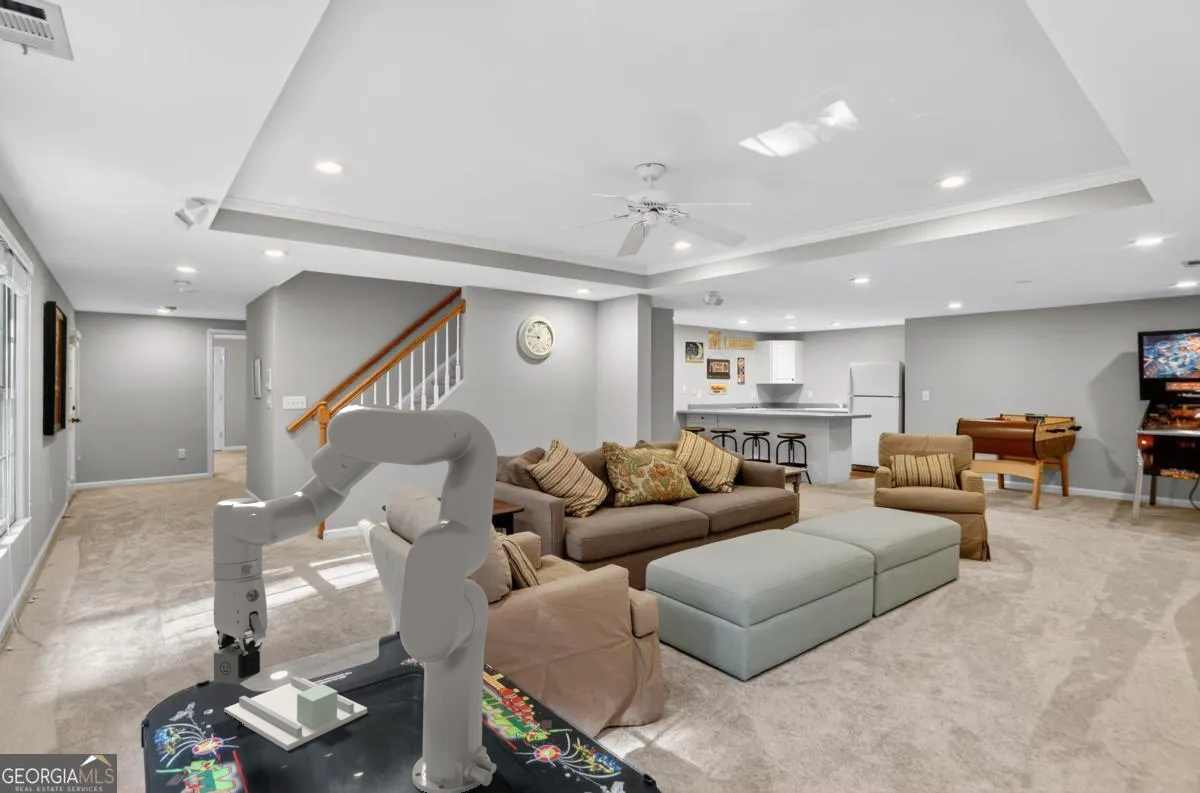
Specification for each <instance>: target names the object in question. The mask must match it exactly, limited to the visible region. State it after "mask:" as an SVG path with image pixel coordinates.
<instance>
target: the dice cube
mask: <svg viewBox="0 0 1200 793" xmlns="http://www.w3.org/2000/svg"><path fill="white" fill-rule="evenodd" d="M235 642H236V641H235ZM248 643H249V642H246V644H247V645H248ZM239 655H242V652H241V647H240V643H239V642H236V643H234V644H232V645H229V646H227V647H225V648H223V649H221V650H219V649H218V650H217V651H215V652H214V653H213V682H214V683H221V684H231V685H240V684H242V683H243V682H245V681H247V680H248V679H250V678H252V677H254V676H256V675H258V674H259V673H261V670H260V671H259V673H257V674H254V675H251V676H249V677H246V678H243V679H242V678H240V677H239Z"/></svg>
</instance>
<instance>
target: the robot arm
mask: <svg viewBox="0 0 1200 793" xmlns="http://www.w3.org/2000/svg"><path fill="white" fill-rule="evenodd" d="M327 433H328V434H327V436H328V441H327V442H326V443H325V444H324V445H323V446H321V447H320V448H319V449H318V450H317V451H315V453H314V454H313V455H312V458H311V467H312V471H313V473H314V475H315V476H314V477H313V478H312V479H311V480H309V482H307V484H305V485H304V486H303V487H302V488H300V489H299V490H298V491H296V492H295V493H293V494H290V495H285V496H281V497H275V498H272V499H269V500H263V501H259V500H258V499H256V498H254V497H253V498H251V497H243V498H242V497H240V498H239V497H237V498H231V499H230V498H229V499H226V500H225V499H224V500H221V501H219V502H217V503H216V504H215V505H214V507H213V510H212V530H213V531H212V538H213V540H212V546H213V547H212V549H213V550H212V551H213V555H212V556H213V558H212V559H213V562H212V565H213V568H212V569H213V572H212V573H213V574H212V575H213V580H212V581H213V582H214V583H215V585H214V597H213V624H214V628H215V629H216V631H215V632H216V634H217V636H218V637H217V645H218V651H219V650H221V649H223V648H225V647H227V646H229V645H232V644H234V643H236V642H239V643H240V647H241V652H242V655H239V677H240V678H242V679H243V678H246V677H249V676H251V675H254V674H256V675H258V674H259V671H260V672H261V650H262V644H263V642H264V640H265V638H266V637H267V636H266V632H267V631H268V624H269V623H268V607H267V595H266V589H265V584H264V579H263V546H264V547H265V546H271V545H273V544H277V543H280V542H283V541H286V540H288V539H291V538H295V537H298V536H301V535H304V534H306V533H308V532H310V531H313V529H315V528H316V527H319V525H320V524H322V523H323V522H324V521H325V520H326V519H328V517H330V516H331V515H333V513H335V512H336V511H337V510H338V509H339V508H340V507H341V506H342V505H343V504H344V502H345V501H346V499H347V497H348V496H349V495H350V492H351V490H352V488H353V487H354V486H356V485H357V483H360V482H361V480H363V479H364V478H365V477H366V476H367V475H368V474H369V473H371V472H372V471H373V470H374V469H376V468H377V467H378V466H379V465H380V464H381V463H384V464H385V463H386V464H393V465H404V466H406V465H407V466H427V465H428V466H429V465H434V464H438V463H441V462H445V461H446V462H447V464H448V468H447V473H446V475H445V478H444V480H443V481H444V482H443V484H442V488H441V492H440V494H441V495H440V507H439V514H438V519H437V523H436V524H435V525H434V526H433V525H432V526H431V527H430V528H427V529H425V530H424V531H423V532H422V533H420V534H419V535H418V536H417V537H416V539H415V540H414V541H413V542H412V544H411V546H410V548H409V550H408V553H407V557H406V560H405V567H404V575H403V582H402V583H403V584H402V595H401V603H400V610H399V612H400V613H399V621H398V622H399V624H398V625H399V629H398V630H399V637H400V640H401V644H402V646H403V648H404V650H405V651H406V653H407V654H408V655H409V656H410V657H411V658H412V659H414V660H415V661H417V662H420V663H422V664H424V675H423V678H424V679H423V710H422V712H423V715H422V718H423V720H422V725H423V726H422V756H421V757H420V758H419V759H418V760H417V761H416V763H415V764H414V765H413V768H412V782H413V785H414V786H415V788H417V789H418V790H419V789H420V790H419V791H420V792H422V791H424V792H423V793H425V792H427V793H461V792H465V791H468V790H470V789H473V788H475V787H476V788H478V787H479V786H485V787H488V786H489V785H490V784H491V782H492V780H493V774H495V772H496V771H497V764H496V763H494V762H492V761H491V758H490V756H489V755H488V753H487V747H486V746H485V745H483V703H484V702H483V701H484V700H483V695H484V693H483V692H484V691H483V690H484V688H483V687H484V665H485V663H484V662H485V661H484V660H485V648H486V647H485V646H486V636H487V630H488V622H489V614H490V613H489V612H490V610H489V609H490V608H489V607H490V606H489V601H488V597H487V595H486V592H485V591H484V589H483V587H482V586H481V585H480V584H479V583H477V582H476V581H474V580H472V579H469V578H468V577H469V576H471V575H472V574H474V573H475V572H476V571H478V570H479V569H480V568H481V567H482V566H483V565H484V563H485V562H486V560H487V559H488V558H487V557H488V555H489V551H490V550H489V549H490V541H491V532H492V521H493V520H492V519H493V511H494V498H495V490H496V488H495V487H496V480H497V472H498V452H497V447H496V443H495V440H494V438H493V436H492V434H491V432H490V431H489V429H488V428H487V426H486V425H485V424H484V423H483V422H482V421H481V420H479V419H478V418H476V416H473V415H472V414H470V413H468V412H465V411H462V410H458V409H453V408H450V409H449V408H443V409H442V408H440V409H427V410H425V409H424V410H422V409H421V410H419V409H417V410H416V409H403V408H402V409H399V408H396V407H395V406H392V405H389V404H385V403H384V404H383V403H371V404H369V403H368V404H367V403H364V404H363V403H360V404H359V403H358V404H357V403H356V404H352V405H348V406H345V407H344V408H343V409H340V410H339V411H337V413H336V414H335V415H334V416H333V417H332V419H331V421H330V423H329V426H328V432H327ZM248 632H251V633H249V634H246V633H248ZM251 638H252V640H250V641H249V642H247V640H248V639H251ZM237 639H238V640H237ZM246 643H248V645H247V644H246ZM257 673H258V674H257ZM254 676H255V675H254ZM480 784H481V785H480ZM478 785H479V786H478ZM477 786H478V787H477ZM476 788H475V789H476ZM473 790H474V789H473ZM468 792H469V791H468Z"/></svg>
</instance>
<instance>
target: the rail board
mask: <svg viewBox="0 0 1200 793" xmlns="http://www.w3.org/2000/svg"><path fill="white" fill-rule="evenodd" d="M238 701H239V702H237V703H235V704H232V705H229V706H228V707H224V709H223V710H224V711H223V713H224V712H226V713H228V714H229V715H231V716H233V717H234V718H236V719H237V720H239V721H240V722H242V725H243V724H244V725H243V726H244V727H246V728H247V729H250V730H251V731H253V732H255V733H256V734H258V735H260V736H261V737H263V738H265V739H266V740H268V741H270V742H272V743H273V744H275V745H276V746H278V747H280V748H281V749H283V750H285V751H287V752H288V751H290V750H292V749H295V748H297V747H298V746H301V745H303V744H305V743H308V742H309V741H311V740H314V739H315V738H317V737H320V736H321V735H324V734H326V733H329V732H330V731H332V730H334V729H337V728H339V727H340V726H343V725H345V724H348V723H349V722H351V721H353V720H356V719H358V718H360V717H362V716H364V715H366V714H367V713H368V707H366V706H365V705H362V704H360V703H357V702H355V701H354V700H351V699H348V698H347V697H345V696H342V695H341V694H338V690H336V689H334V688H332V687H330V686H327V685H325V684H323V683H321V684H316V683H314V682H312V681H310V680H308V679H306V678H304V677H302V678H300V677H298V676H292V677H290V682H289V683H287V684H284V685H282V686H279V687H277V688H274V689H271V690H268V691H266V692H263V693H261V694H258V695H255V696H253V697H250V698H249V697H248V696H246V695H242V696H239V697H238Z"/></svg>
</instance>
